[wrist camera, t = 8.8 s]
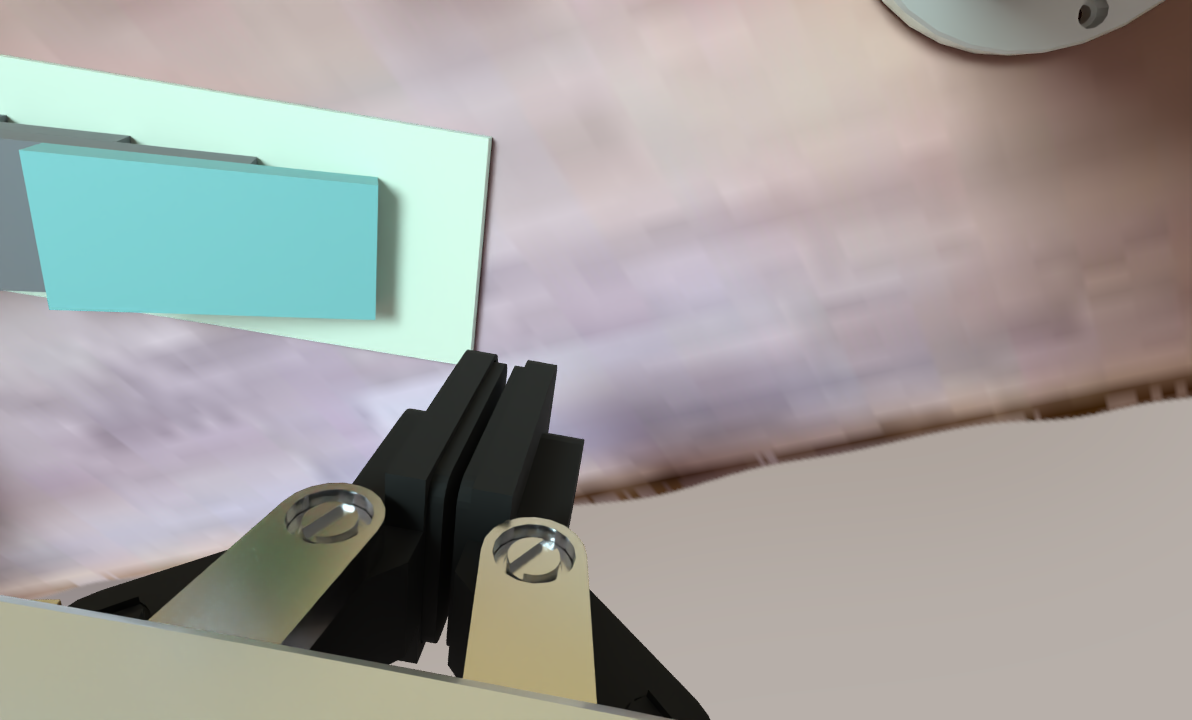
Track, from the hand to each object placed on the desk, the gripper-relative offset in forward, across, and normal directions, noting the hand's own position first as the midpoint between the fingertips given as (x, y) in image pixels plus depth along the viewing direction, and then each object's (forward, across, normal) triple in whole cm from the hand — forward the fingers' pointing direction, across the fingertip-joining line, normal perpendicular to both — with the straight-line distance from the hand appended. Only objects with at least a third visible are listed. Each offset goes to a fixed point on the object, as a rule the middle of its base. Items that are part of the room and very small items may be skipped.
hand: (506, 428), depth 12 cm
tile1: (+12, +8, +1) cm, 15 cm away
